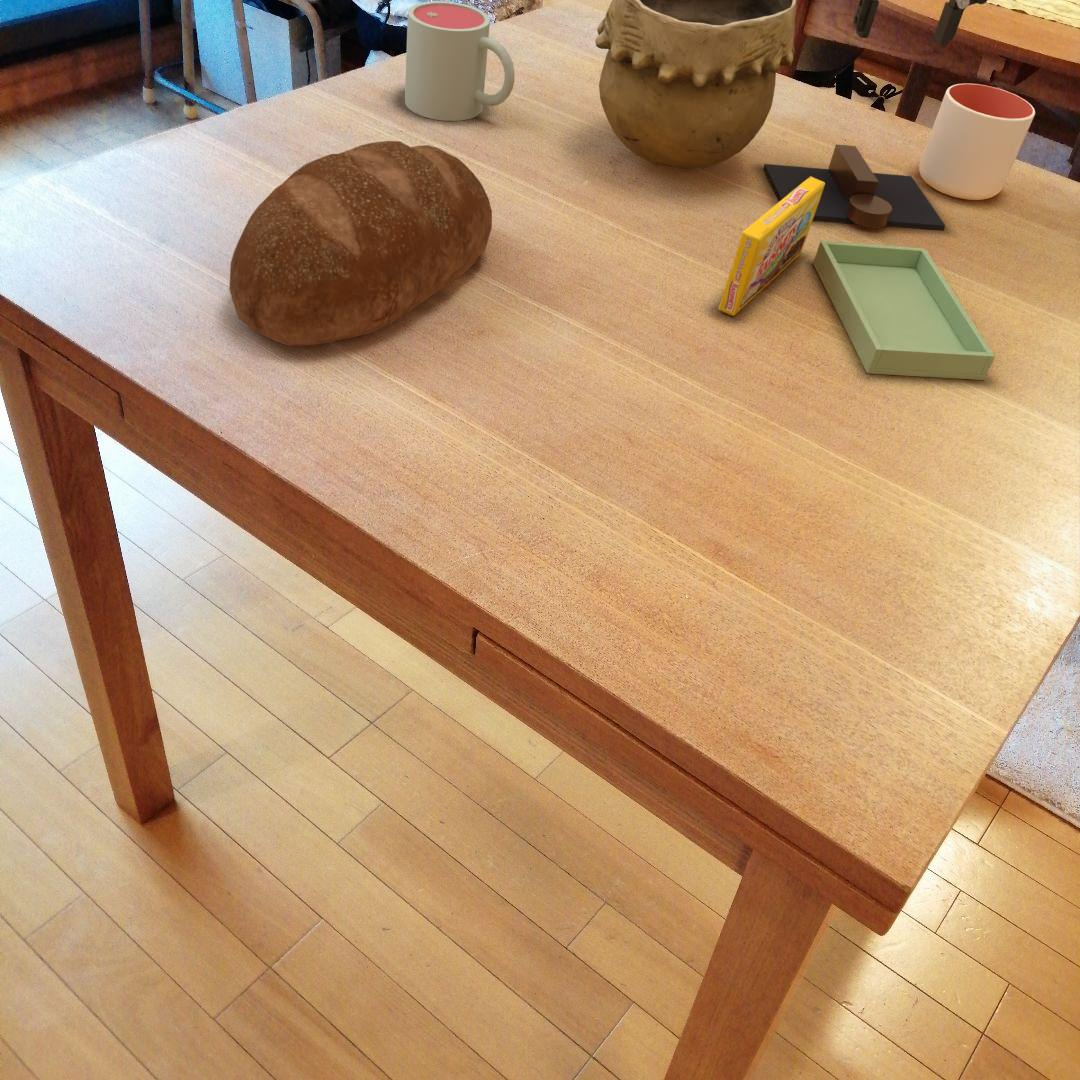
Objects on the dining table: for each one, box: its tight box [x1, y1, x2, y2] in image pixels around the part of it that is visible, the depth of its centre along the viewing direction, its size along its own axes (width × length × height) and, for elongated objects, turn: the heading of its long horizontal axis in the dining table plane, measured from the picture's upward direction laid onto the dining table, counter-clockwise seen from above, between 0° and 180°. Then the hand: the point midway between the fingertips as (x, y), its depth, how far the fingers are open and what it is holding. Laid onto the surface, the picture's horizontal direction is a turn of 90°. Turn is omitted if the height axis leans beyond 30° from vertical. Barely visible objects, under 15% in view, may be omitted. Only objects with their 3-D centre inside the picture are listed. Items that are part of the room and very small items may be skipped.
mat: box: [762, 163, 946, 231], centre depth 123 cm, size 18×12×1 cm, turn 94°
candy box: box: [718, 176, 825, 317], centre depth 104 cm, size 16×2×8 cm, turn 147°
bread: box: [228, 140, 493, 347], centre depth 95 cm, size 16×29×11 cm, turn 149°
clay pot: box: [595, 0, 797, 170], centre depth 118 cm, size 21×21×20 cm
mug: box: [404, 0, 515, 122], centre depth 125 cm, size 14×9×10 cm
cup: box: [918, 83, 1036, 201], centre depth 126 cm, size 10×10×10 cm
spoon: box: [827, 144, 892, 229], centre depth 121 cm, size 5×14×3 cm, turn 4°
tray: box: [812, 240, 996, 381], centre depth 104 cm, size 11×19×3 cm, turn 4°
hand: (900, 39), depth 113 cm, fingers open, 8 cm apart
